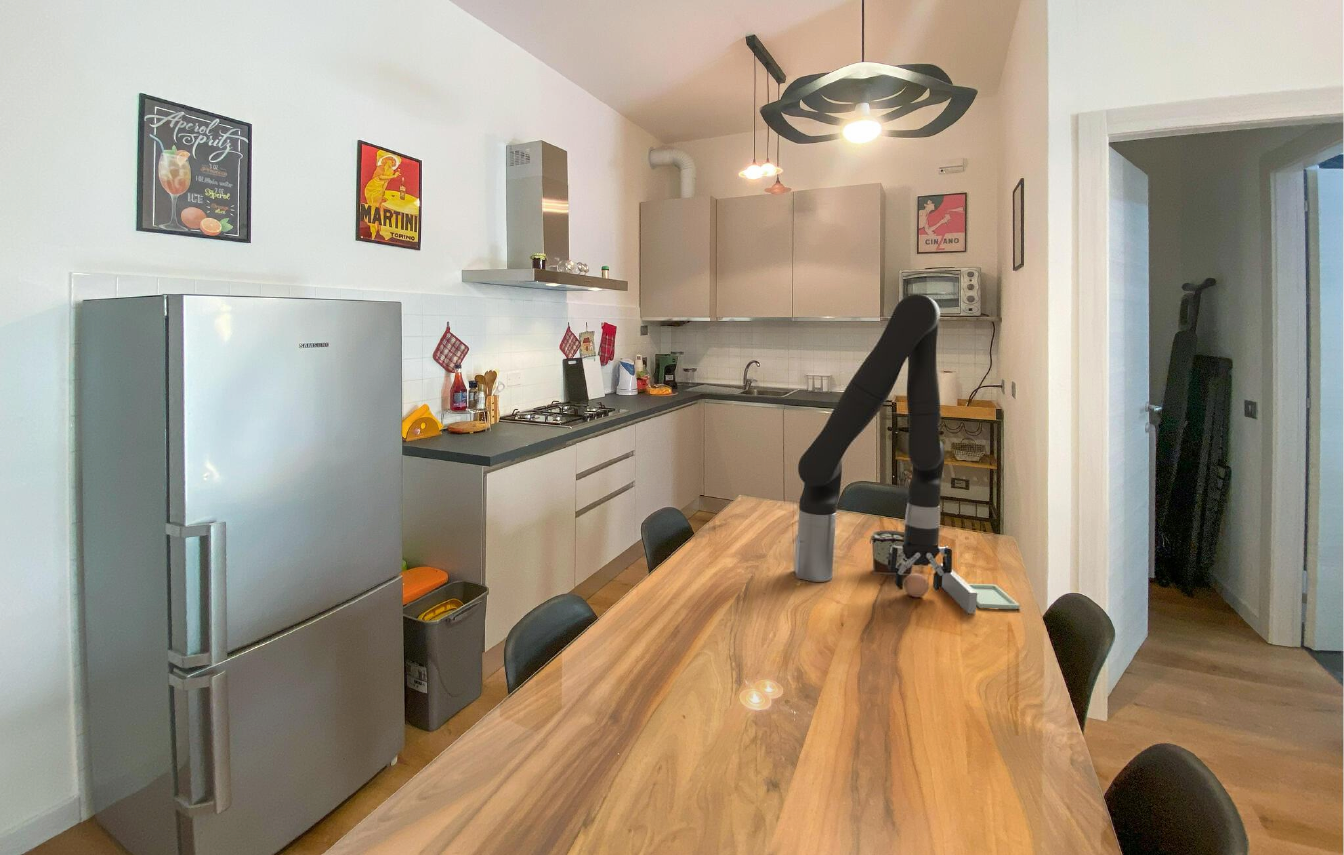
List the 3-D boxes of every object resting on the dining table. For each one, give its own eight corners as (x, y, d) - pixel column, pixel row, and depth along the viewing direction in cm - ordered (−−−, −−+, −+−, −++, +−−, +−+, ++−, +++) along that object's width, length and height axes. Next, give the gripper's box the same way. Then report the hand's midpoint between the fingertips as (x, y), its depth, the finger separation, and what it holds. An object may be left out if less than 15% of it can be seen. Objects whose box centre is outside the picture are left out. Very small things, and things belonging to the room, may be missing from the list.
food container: (910, 567, 174) (913, 531, 173) (916, 575, 168) (920, 538, 167) (863, 564, 176) (866, 528, 174) (867, 572, 170) (870, 535, 168)
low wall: (968, 613, 146) (970, 592, 145) (938, 582, 164) (939, 563, 163) (975, 614, 146) (977, 592, 145) (944, 582, 164) (946, 563, 163)
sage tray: (979, 608, 149) (979, 603, 149) (958, 588, 161) (958, 583, 161) (1019, 610, 149) (1019, 605, 149) (995, 589, 161) (995, 584, 160)
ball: (907, 600, 153) (909, 578, 152) (899, 591, 158) (901, 569, 157) (931, 601, 152) (933, 578, 152) (922, 591, 158) (924, 570, 157)
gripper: (896, 526, 149) (892, 594, 151) (959, 527, 148) (954, 595, 151) (886, 517, 156) (882, 582, 159) (946, 518, 156) (942, 583, 158)
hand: (917, 588), depth 155 cm, fingers open, 8 cm apart
